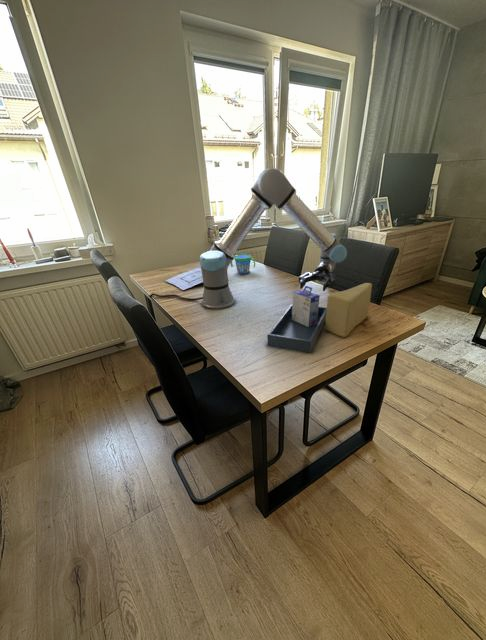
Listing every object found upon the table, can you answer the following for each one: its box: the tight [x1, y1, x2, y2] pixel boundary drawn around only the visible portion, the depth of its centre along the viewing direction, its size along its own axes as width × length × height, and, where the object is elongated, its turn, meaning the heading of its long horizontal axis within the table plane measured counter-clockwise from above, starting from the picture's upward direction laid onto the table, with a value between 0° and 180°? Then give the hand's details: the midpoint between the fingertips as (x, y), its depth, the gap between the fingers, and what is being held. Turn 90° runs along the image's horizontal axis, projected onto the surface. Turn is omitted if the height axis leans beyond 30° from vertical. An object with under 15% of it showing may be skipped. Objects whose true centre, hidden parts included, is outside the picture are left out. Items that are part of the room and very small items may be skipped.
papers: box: [165, 266, 203, 291], centre depth 167 cm, size 24×30×4 cm
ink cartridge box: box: [291, 285, 321, 327], centre depth 110 cm, size 10×6×14 cm, turn 40°
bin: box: [266, 303, 327, 354], centre depth 108 cm, size 16×30×4 cm, turn 158°
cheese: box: [324, 282, 373, 338], centre depth 107 cm, size 22×10×15 cm, turn 131°
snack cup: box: [230, 254, 256, 275], centre depth 175 cm, size 16×10×10 cm
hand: (312, 286), depth 117 cm, fingers open, 9 cm apart
